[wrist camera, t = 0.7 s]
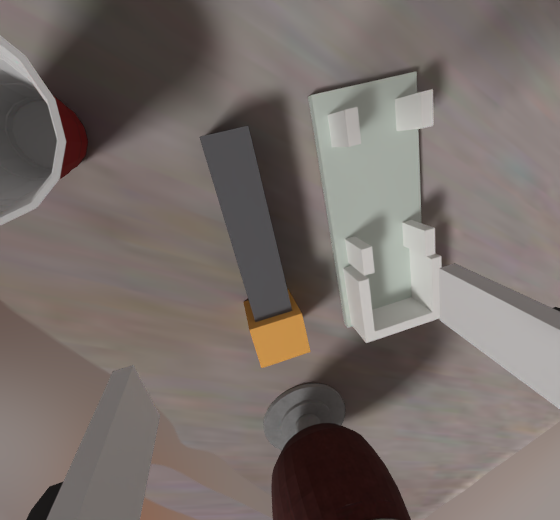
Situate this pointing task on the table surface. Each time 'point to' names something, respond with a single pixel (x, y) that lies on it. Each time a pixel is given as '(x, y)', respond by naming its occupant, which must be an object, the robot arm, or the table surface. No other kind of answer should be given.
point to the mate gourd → (325, 462)
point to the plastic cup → (32, 136)
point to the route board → (378, 203)
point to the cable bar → (255, 247)
